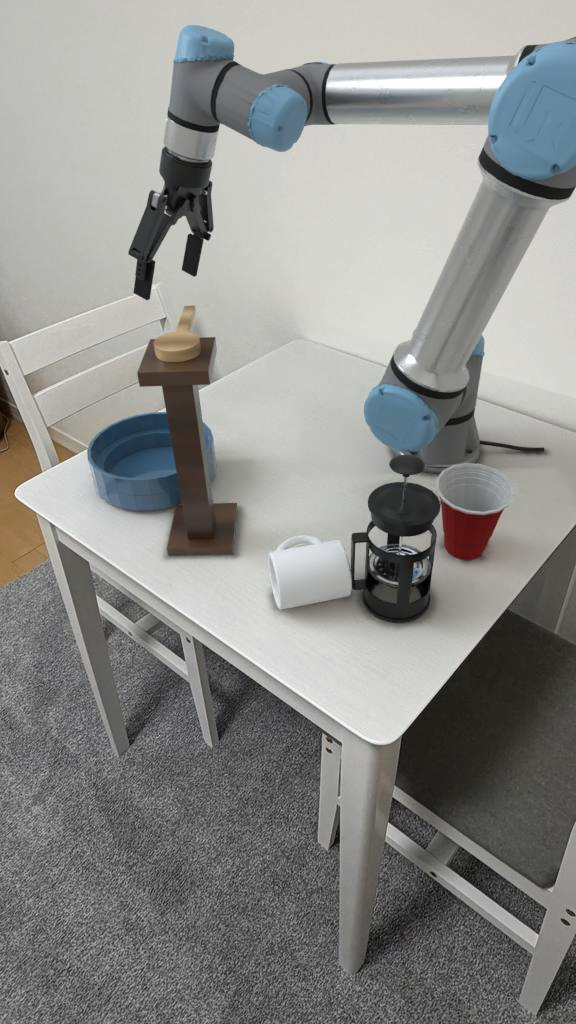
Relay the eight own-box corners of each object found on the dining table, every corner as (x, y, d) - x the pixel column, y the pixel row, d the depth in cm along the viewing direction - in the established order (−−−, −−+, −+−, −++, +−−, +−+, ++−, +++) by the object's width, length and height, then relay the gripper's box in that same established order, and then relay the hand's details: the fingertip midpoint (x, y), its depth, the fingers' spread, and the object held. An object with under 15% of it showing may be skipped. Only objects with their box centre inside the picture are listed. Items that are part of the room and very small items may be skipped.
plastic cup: (435, 575, 99) (443, 510, 91) (422, 527, 107) (429, 464, 100) (510, 572, 99) (525, 507, 91) (492, 524, 107) (504, 461, 100)
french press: (427, 572, 99) (443, 437, 85) (441, 620, 92) (462, 482, 78) (346, 577, 99) (349, 443, 85) (354, 626, 92) (359, 488, 78)
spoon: (170, 312, 101) (168, 302, 100) (210, 311, 100) (209, 300, 100) (151, 363, 88) (149, 351, 87) (198, 361, 88) (197, 350, 87)
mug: (351, 607, 94) (353, 565, 90) (281, 622, 93) (278, 579, 88) (328, 552, 104) (327, 510, 99) (263, 564, 102) (260, 522, 97)
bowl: (221, 442, 129) (217, 410, 125) (210, 512, 112) (206, 478, 108) (110, 446, 130) (102, 413, 125) (83, 515, 113) (73, 481, 109)
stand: (177, 511, 113) (147, 337, 94) (237, 509, 113) (219, 335, 94) (167, 556, 104) (132, 374, 85) (233, 554, 104) (211, 372, 85)
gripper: (212, 131, 110) (189, 255, 125) (113, 155, 92) (100, 296, 107) (251, 150, 109) (223, 273, 123) (158, 178, 91) (138, 317, 106)
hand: (166, 284), depth 115 cm, fingers open, 13 cm apart
